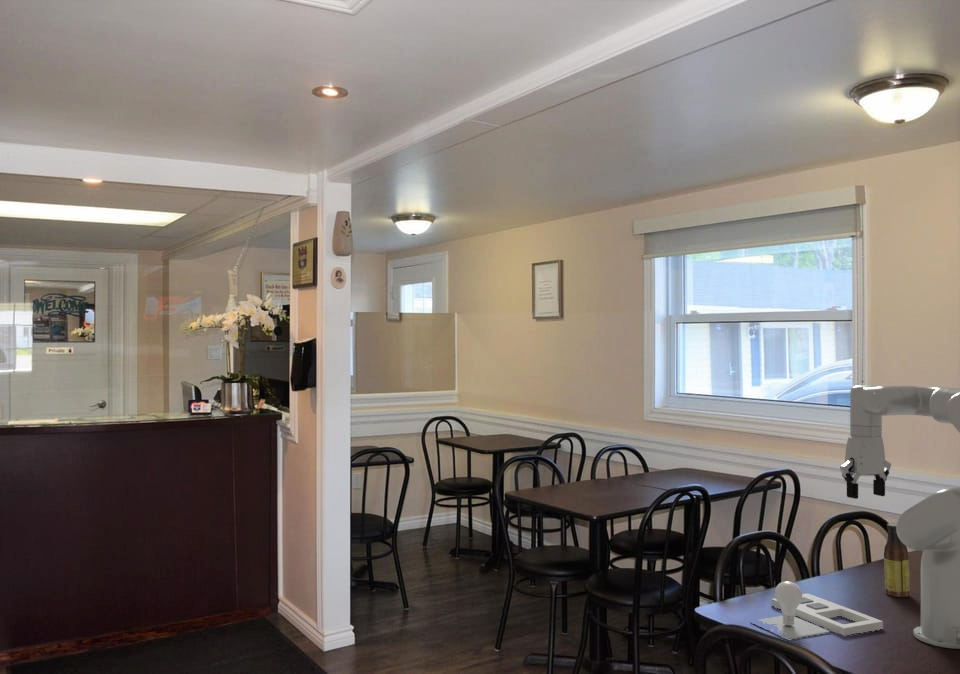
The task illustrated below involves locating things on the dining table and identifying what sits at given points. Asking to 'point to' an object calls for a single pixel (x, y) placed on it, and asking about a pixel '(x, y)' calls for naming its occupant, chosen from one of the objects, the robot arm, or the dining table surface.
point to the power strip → (833, 615)
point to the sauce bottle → (896, 565)
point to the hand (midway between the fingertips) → (865, 496)
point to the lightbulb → (788, 600)
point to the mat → (795, 627)
